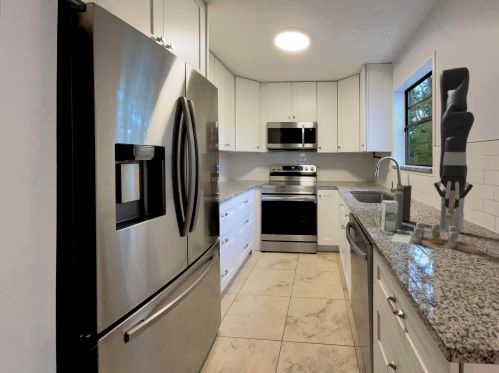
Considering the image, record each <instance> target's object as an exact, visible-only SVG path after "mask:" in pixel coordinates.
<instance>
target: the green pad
mask: <svg viewBox="0 0 499 373" xmlns="http://www.w3.org/2000/svg"><path fill="white" fill-rule="evenodd" d="M411 237H412V234H403V233H395V235H394V236H393V237H392V238H391V241H390V242H393V243H394V242H395V243H401V244H402V243H403V244H408V245H409V241H410V239H411Z"/></svg>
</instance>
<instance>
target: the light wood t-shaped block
mask: <svg viewBox="0 0 499 373" xmlns="http://www.w3.org/2000/svg"><path fill="white" fill-rule="evenodd" d="M455 195H456V191H455V190H450V193H449V208H447V213H446V218H447V219H455V217H456V209H454V205H455Z"/></svg>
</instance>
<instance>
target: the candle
mask: <svg viewBox="0 0 499 373" xmlns="http://www.w3.org/2000/svg"><path fill="white" fill-rule="evenodd" d="M397 187H402V188H404V189H403V211H402V222H405V221H406V222H409V221H411V220H410V219H411V206H412V205H411V202H412V185H410V184H408V185H406V184H405V185H397Z"/></svg>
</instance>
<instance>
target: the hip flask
mask: <svg viewBox="0 0 499 373" xmlns="http://www.w3.org/2000/svg"><path fill="white" fill-rule="evenodd" d="M395 188H396V190H394V192H393V193H394V194H393V201H397V202H398V212H397V228H396V230H398V229H399V230H401V229H402V228H403V227H402V226H403V221H402V211H403V189H404V188H402V187H398V186H396V187H395Z"/></svg>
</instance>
